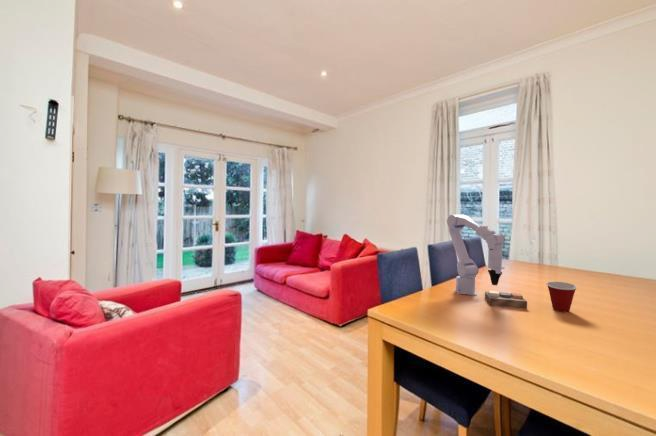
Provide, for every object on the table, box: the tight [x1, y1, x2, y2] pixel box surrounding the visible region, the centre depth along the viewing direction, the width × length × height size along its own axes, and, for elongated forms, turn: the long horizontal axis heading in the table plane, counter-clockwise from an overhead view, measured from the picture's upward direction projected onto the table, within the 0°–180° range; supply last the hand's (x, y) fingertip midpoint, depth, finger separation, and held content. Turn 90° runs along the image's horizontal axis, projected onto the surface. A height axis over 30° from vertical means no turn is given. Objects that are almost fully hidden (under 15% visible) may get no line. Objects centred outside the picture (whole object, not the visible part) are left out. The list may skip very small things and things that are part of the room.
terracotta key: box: [509, 292, 524, 299], centre depth 133 cm, size 4×4×3 cm
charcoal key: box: [498, 291, 511, 298], centre depth 134 cm, size 4×4×3 cm
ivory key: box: [487, 290, 500, 297], centre depth 136 cm, size 4×4×3 cm
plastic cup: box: [546, 281, 578, 313], centre depth 125 cm, size 11×11×12 cm
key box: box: [484, 291, 528, 310], centre depth 134 cm, size 15×11×4 cm
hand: (494, 284), depth 136 cm, fingers closed
